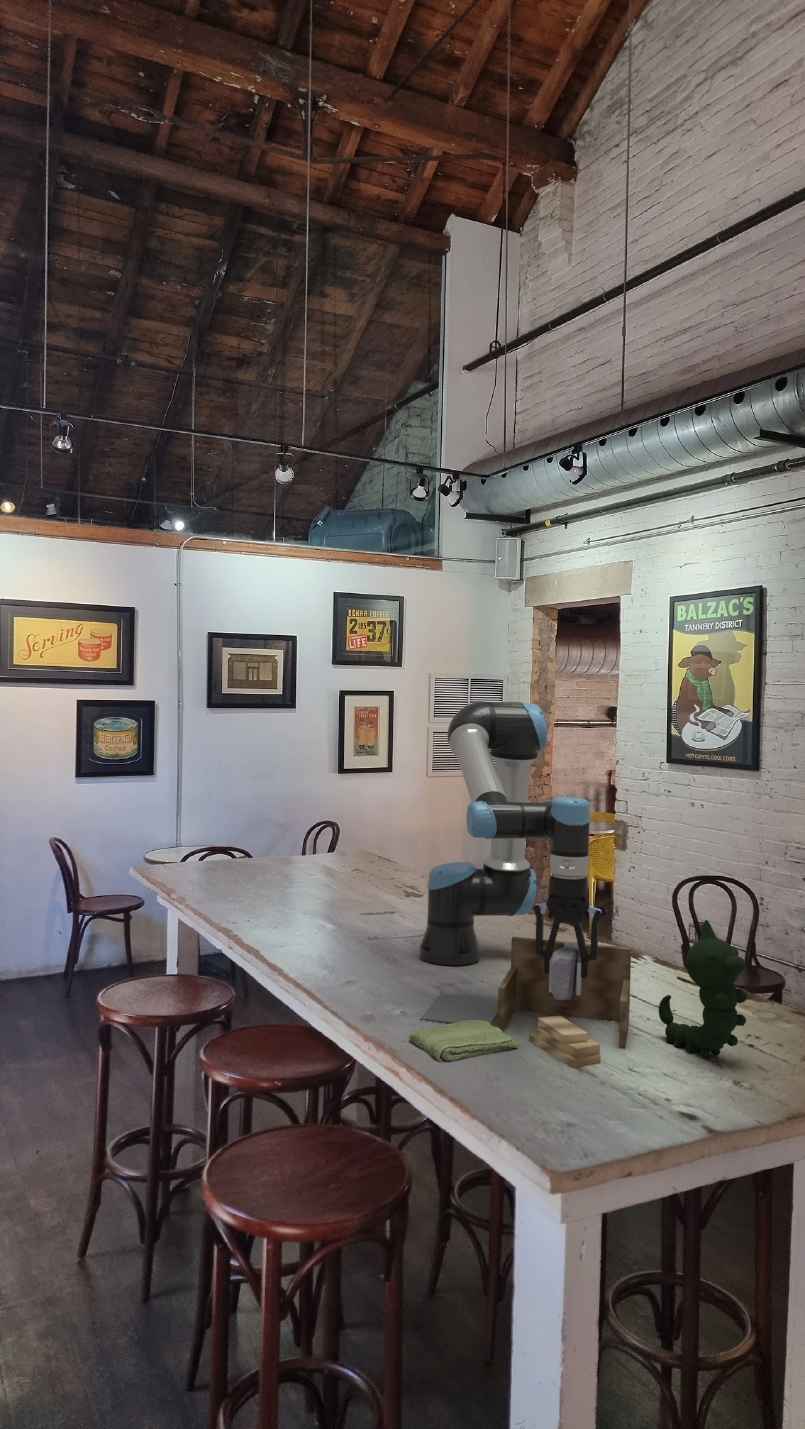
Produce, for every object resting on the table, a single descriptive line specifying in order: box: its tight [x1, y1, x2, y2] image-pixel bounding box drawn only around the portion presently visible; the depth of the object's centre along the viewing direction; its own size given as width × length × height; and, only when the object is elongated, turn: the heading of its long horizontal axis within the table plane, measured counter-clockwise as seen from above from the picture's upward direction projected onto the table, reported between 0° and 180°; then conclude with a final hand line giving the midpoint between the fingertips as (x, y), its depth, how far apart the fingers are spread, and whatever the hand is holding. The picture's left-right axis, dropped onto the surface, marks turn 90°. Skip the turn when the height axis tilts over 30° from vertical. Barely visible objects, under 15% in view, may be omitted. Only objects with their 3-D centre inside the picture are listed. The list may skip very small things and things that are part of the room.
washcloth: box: [408, 1020, 519, 1063], centre depth 175 cm, size 13×18×3 cm
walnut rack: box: [496, 936, 632, 1050], centre depth 187 cm, size 24×16×15 cm, turn 74°
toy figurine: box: [658, 919, 748, 1059], centre depth 175 cm, size 9×19×25 cm, turn 31°
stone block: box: [550, 941, 581, 1001], centre depth 186 cm, size 12×5×10 cm, turn 155°
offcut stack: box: [528, 1015, 601, 1068], centre depth 173 cm, size 14×6×5 cm, turn 26°
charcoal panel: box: [419, 992, 498, 1026], centre depth 194 cm, size 14×18×1 cm
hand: (565, 991), depth 187 cm, fingers closed on stone block, 5 cm apart
